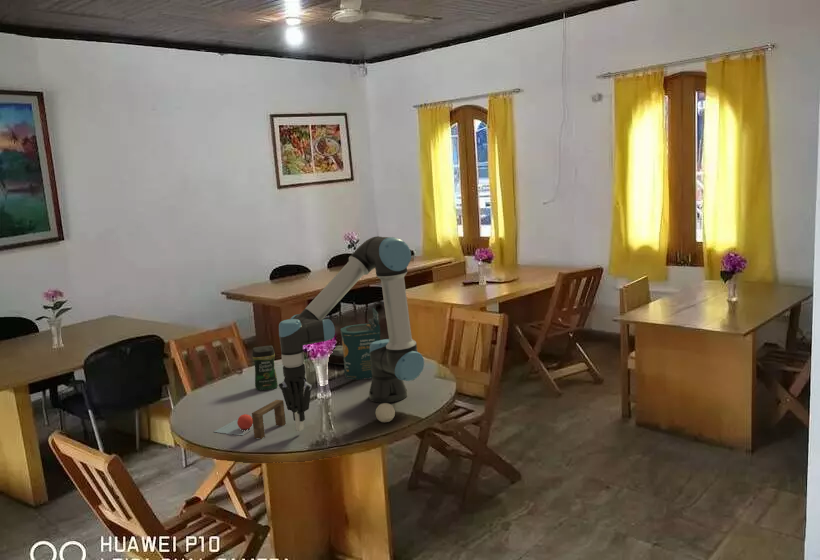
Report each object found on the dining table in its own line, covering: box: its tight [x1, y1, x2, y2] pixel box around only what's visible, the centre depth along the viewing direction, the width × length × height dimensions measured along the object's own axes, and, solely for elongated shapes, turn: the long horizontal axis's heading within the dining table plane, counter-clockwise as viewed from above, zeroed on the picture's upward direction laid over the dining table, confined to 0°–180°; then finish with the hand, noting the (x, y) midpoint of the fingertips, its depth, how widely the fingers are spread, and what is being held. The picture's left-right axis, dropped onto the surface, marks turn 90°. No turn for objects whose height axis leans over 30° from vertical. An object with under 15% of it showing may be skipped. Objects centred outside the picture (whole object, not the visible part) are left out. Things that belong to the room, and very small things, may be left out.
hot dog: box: [328, 345, 344, 366], centre depth 331 cm, size 18×11×8 cm, turn 49°
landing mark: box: [213, 418, 253, 436], centre depth 257 cm, size 13×13×1 cm
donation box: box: [340, 307, 381, 381], centre depth 311 cm, size 16×16×28 cm
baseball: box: [375, 402, 396, 423], centre depth 251 cm, size 7×7×7 cm
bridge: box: [251, 399, 287, 440], centre depth 250 cm, size 3×14×9 cm, turn 154°
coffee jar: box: [251, 345, 279, 391], centre depth 301 cm, size 10×8×19 cm
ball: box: [237, 414, 253, 430], centre depth 254 cm, size 6×6×6 cm
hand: (300, 429), depth 245 cm, fingers closed
